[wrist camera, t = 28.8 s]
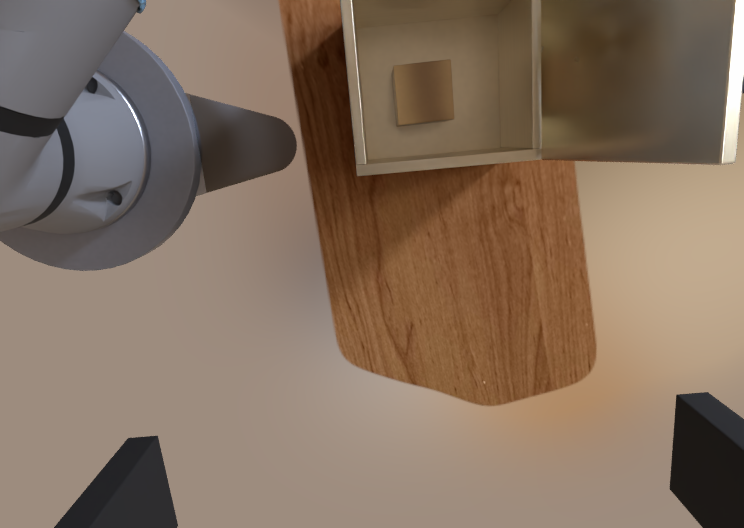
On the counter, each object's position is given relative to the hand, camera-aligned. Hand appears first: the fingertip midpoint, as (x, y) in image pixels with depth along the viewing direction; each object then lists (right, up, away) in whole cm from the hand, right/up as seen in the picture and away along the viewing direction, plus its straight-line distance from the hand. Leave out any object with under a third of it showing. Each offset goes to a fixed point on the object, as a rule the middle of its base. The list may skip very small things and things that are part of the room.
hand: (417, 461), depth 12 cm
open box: (+4, +20, +31) cm, 37 cm away
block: (+3, +20, +30) cm, 36 cm away
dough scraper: (+12, +17, +14) cm, 25 cm away
